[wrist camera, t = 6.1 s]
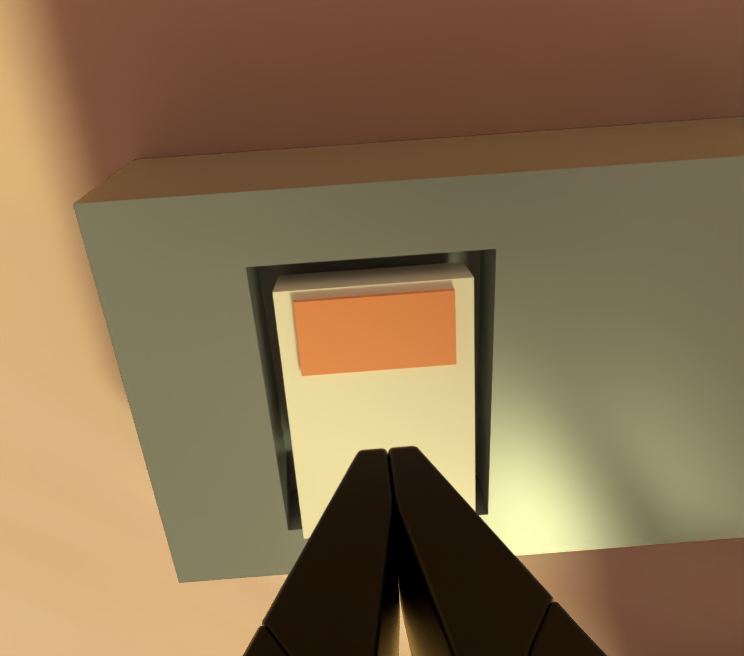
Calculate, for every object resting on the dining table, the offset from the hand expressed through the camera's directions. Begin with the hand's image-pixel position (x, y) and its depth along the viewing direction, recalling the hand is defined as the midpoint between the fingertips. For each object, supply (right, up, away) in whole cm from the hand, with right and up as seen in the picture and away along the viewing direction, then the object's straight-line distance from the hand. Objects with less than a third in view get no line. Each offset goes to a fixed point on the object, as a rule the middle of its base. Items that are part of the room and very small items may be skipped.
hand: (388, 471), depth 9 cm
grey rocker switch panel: (+6, +3, +9) cm, 11 cm away
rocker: (0, 0, +5) cm, 5 cm away
